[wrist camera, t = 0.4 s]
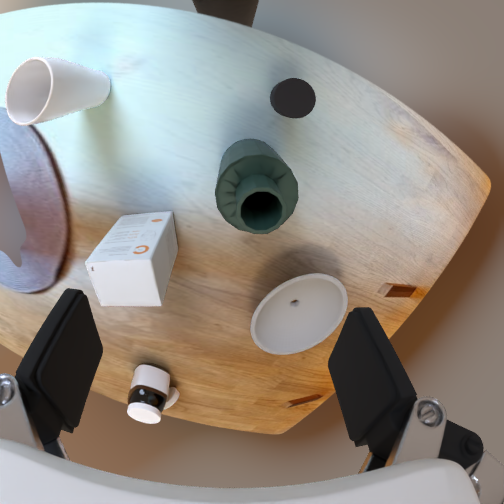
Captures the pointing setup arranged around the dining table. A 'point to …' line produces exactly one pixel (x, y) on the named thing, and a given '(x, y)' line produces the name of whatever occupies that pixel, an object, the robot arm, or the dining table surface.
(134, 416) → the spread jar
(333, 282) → the dish
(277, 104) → the stopper
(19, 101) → the white cup
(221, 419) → the dining table surface
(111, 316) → the dining table surface
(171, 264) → the small box
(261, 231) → the bottle
